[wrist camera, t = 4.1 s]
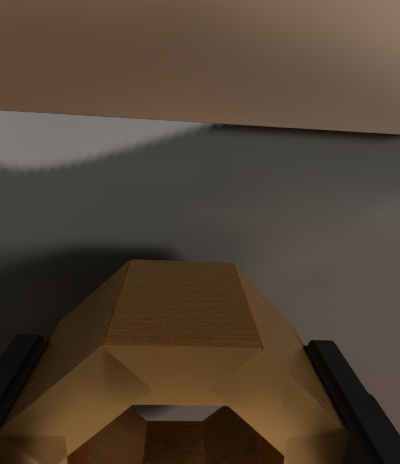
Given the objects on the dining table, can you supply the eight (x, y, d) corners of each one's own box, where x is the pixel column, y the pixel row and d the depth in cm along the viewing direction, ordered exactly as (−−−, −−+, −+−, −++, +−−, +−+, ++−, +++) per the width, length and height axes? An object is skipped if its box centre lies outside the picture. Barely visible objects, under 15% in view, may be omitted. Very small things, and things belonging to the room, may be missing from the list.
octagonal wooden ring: (274, 451, 12) (313, 592, 8) (68, 451, 11) (19, 600, 8) (304, 265, 10) (371, 349, 6) (54, 256, 9) (-19, 342, 6)
